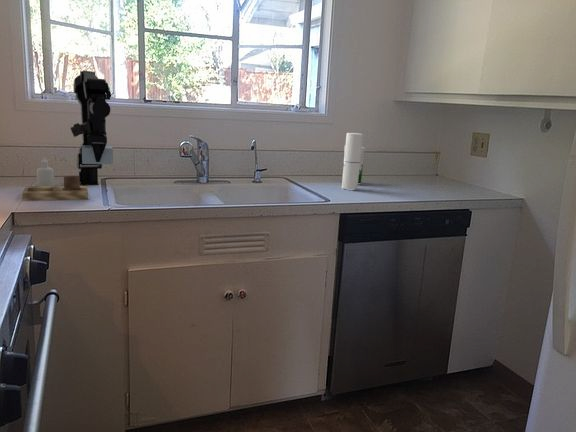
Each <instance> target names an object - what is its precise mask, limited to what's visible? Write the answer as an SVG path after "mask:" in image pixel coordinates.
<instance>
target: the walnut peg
mask: <svg viewBox="0 0 576 432" xmlns="http://www.w3.org/2000/svg"><path fill="white" fill-rule="evenodd" d="M63 186H64V191H69V190H80V186H81V183H80V176H79V175H63Z"/></svg>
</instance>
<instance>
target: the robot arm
mask: <svg viewBox="0 0 576 432" xmlns="http://www.w3.org/2000/svg"><path fill="white" fill-rule="evenodd" d="M79 72H80V74H79V75H77V77H75V78H74V79H73V93H74V94H75V99H76V101H77V102H78V103H79V105H80V115H81V116H80V117H81V123H79V122H77V123H74V124H73V125H72V126H71V127H70V131H71V133H72V135H73V138H75V137H78V136H79V135H82V137H81V138H82V143H81V145H80V146H79V148H78V153H77V155H76V168H77V170H79V171H78V176H80V186H89V185H91V186H92V185H99V174H98V173H99V171H98V170H99V169H100V170H101V169H102V168H103V164H82V145H91V146H92V147H93V151H94V155H95V159H96V162H100V159H101V157H102V154H103V152H104V149H105V147H106V146H107V144H108V136H107V128H106V127H107V124H106V123H107V120H106V118H107V117H108V116H109V115H110V113H111V106H110V105H109V103H108V102H107V101H106V100H111V98H112V92H111V87H110V85H109V83H108V82H107V81H106V79H105V78H104V79H103V78H98V76H97V75H96V72H95V71H91V70H82V71H79Z"/></svg>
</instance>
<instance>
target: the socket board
mask: <svg viewBox="0 0 576 432" xmlns="http://www.w3.org/2000/svg"><path fill="white" fill-rule="evenodd" d="M88 189H89V188H88V185H80V190H69V191H64V185H54V186H37V185H35V186H34V185H33V186H32V185H31V186H30V185H29V186H25V187H24V189H23V191H22V193H21V195H22V199H21V200H22V201H23V202H24V201H25V202H26V201H28V202H29V201H32V202H33V201H73V200H74V201H77V200H78V201H79V200H82V201H84V200H89V190H88Z"/></svg>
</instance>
